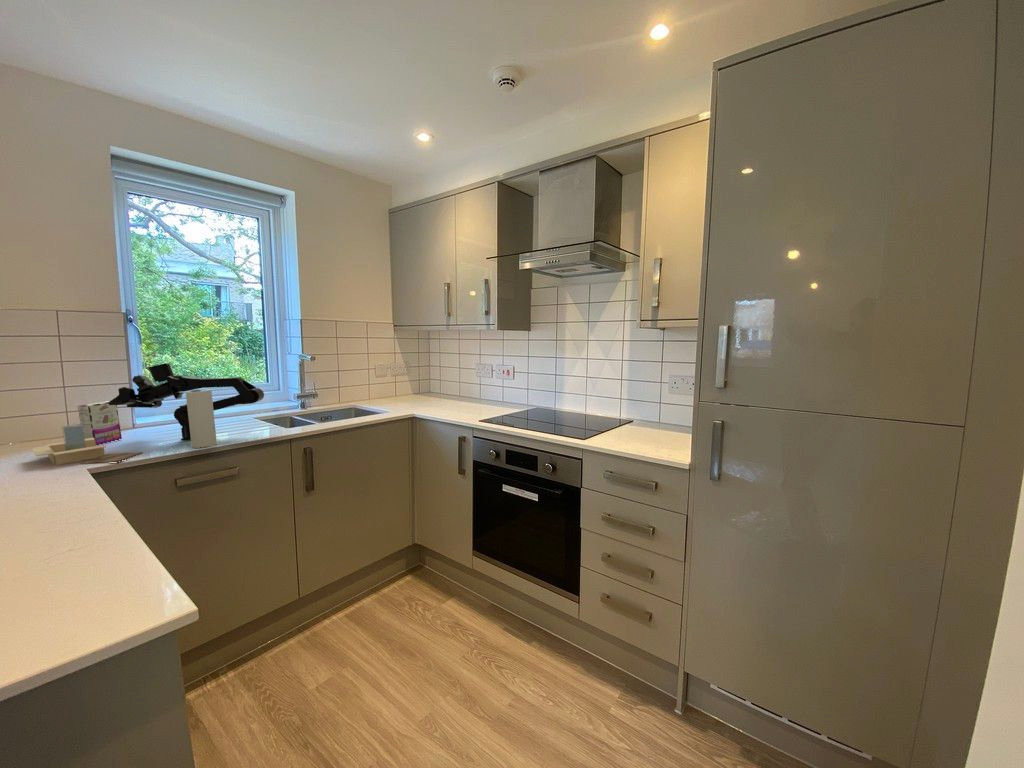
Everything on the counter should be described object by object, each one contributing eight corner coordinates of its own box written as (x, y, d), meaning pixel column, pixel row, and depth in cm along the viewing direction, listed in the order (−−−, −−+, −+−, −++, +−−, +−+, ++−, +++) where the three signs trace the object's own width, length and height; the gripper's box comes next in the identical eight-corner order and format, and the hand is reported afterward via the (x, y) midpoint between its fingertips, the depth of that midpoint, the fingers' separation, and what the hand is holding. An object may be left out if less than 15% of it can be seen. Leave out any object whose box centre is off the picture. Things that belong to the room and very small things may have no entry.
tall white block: (187, 447, 157) (181, 391, 155) (204, 443, 163) (199, 389, 160) (200, 449, 154) (194, 391, 152) (217, 445, 160) (211, 389, 158)
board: (142, 454, 149) (142, 452, 149) (118, 463, 138) (118, 461, 138) (108, 456, 148) (108, 453, 148) (80, 465, 137) (80, 462, 137)
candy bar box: (110, 440, 173) (105, 400, 171) (122, 439, 172) (117, 400, 171) (82, 447, 161) (76, 405, 160) (95, 447, 161) (89, 405, 160)
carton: (116, 445, 162) (114, 434, 162) (130, 454, 148) (128, 442, 148) (32, 459, 145) (30, 446, 145) (39, 471, 131) (37, 457, 131)
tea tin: (84, 454, 149) (80, 424, 148) (87, 456, 146) (82, 425, 145) (66, 457, 145) (61, 426, 144) (68, 459, 143) (63, 427, 141)
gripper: (170, 376, 178) (130, 389, 175) (137, 368, 160) (92, 382, 157) (177, 401, 177) (137, 414, 174) (145, 396, 159) (100, 410, 156)
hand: (118, 404), depth 166 cm, fingers open, 9 cm apart
